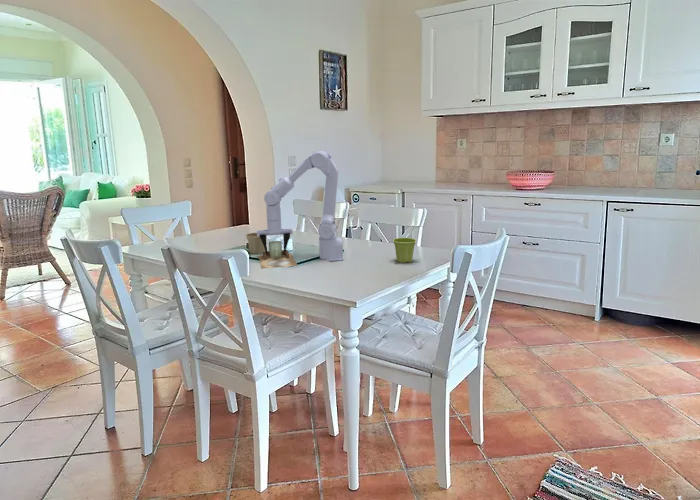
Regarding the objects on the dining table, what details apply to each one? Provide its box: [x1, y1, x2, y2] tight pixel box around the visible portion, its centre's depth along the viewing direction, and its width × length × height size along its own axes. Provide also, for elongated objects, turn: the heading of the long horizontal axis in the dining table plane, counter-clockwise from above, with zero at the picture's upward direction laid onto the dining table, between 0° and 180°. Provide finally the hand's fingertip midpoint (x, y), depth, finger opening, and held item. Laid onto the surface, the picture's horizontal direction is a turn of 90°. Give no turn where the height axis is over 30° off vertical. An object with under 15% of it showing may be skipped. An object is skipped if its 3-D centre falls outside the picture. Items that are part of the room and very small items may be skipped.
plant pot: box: [392, 237, 417, 264], centre depth 207 cm, size 9×9×9 cm
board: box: [258, 249, 298, 270], centre depth 210 cm, size 14×22×3 cm, turn 13°
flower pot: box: [245, 232, 268, 255], centre depth 225 cm, size 9×9×9 cm
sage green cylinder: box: [268, 240, 283, 259], centre depth 214 cm, size 5×8×6 cm, turn 13°
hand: (275, 251), depth 215 cm, fingers open, 7 cm apart
